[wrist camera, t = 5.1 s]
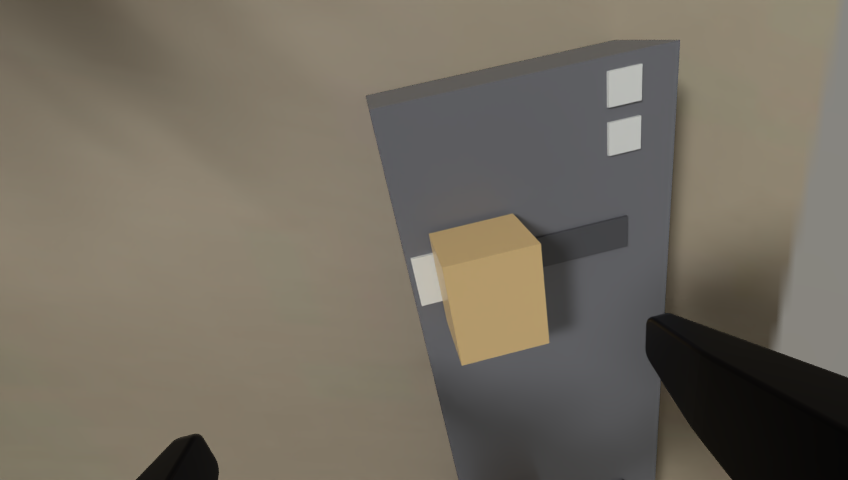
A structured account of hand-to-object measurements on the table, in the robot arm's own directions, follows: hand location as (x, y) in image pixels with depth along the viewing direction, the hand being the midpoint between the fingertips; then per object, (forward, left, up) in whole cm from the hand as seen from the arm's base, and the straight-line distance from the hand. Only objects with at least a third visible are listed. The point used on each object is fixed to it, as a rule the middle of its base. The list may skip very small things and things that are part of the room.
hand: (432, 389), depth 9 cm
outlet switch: (-1, -2, -4) cm, 5 cm away
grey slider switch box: (-7, -1, -8) cm, 11 cm away
